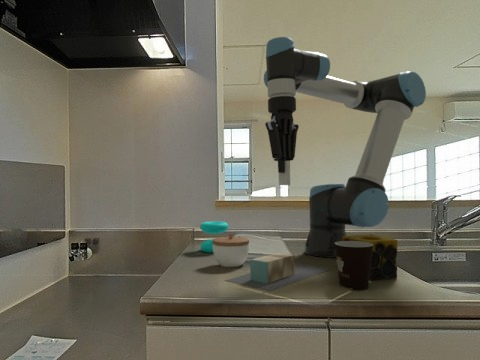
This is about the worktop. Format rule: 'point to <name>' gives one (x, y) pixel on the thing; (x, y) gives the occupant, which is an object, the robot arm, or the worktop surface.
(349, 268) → the coffee mug
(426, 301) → the worktop surface
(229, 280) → the rubber mat
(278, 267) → the birch block
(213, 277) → the worktop surface
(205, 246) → the donuts
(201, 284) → the worktop surface
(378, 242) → the yellow patterned cube
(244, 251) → the lidded jar
